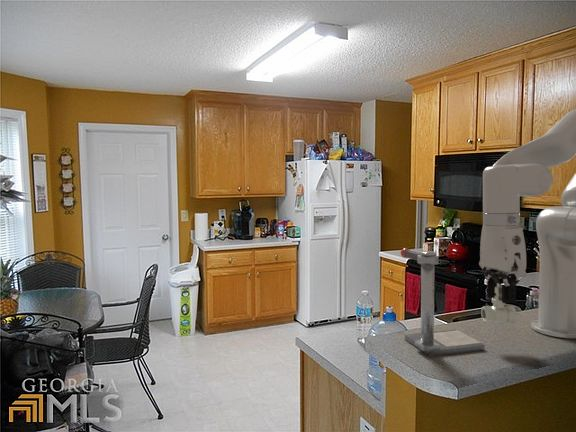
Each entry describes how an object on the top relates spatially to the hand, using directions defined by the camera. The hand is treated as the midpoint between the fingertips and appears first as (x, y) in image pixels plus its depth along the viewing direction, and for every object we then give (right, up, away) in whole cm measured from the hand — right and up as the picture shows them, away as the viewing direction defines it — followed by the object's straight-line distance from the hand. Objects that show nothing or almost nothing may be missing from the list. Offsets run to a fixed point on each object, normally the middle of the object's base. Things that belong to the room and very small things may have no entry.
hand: (501, 298), depth 102 cm
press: (-12, -11, +3) cm, 17 cm away
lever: (-19, +8, +1) cm, 21 cm away
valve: (-1, -6, 0) cm, 6 cm away
